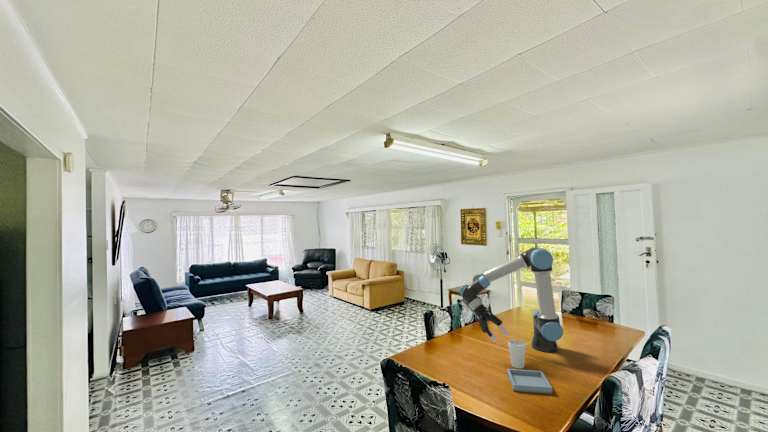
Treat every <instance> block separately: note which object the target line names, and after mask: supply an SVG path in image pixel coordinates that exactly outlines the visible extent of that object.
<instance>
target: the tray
mask: <svg viewBox="0 0 768 432" xmlns="http://www.w3.org/2000/svg"><path fill="white" fill-rule="evenodd" d="M506 371H507V373H506V375H507V377H508V379H509V383H510V385H511V387H512V390H513V392H520V393H521V392H522V393H532V394H543V395H545V394H546V395H553V394H554V393H553V386H552V385H551V384H550V382H549V380H548V378H547V376H545V373H543V371H542V370H531V369H527V370H526V369H520V368H506Z"/></svg>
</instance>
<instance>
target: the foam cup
mask: <svg viewBox="0 0 768 432" xmlns="http://www.w3.org/2000/svg"><path fill="white" fill-rule="evenodd" d="M507 346H508V350H509V351H508V352H509V357H510V364H511V366H512V367H513V368H514V369H523V368H525V362H526V361H525V360H526V359H525V358H526V349H527V343H526V341H524V340H520V339H514V338H513V339H509V340H507Z"/></svg>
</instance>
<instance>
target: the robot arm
mask: <svg viewBox="0 0 768 432" xmlns="http://www.w3.org/2000/svg"><path fill="white" fill-rule="evenodd" d="M553 264H554V257H553V255H552V253H551V252H550V251H548V249H545V248H540V247H531V248H529V249H528V250H525V251H524V252H522V253H519V254H518V255H517V257H515V258H513V259H511V260H508V261H505V262H503V263H501V264H499V265H497V266H495V267H493V268H491V269H489V270H486V271H483V273H480V274H476V275H474V276H473V278H472V283H471V284H469V285H468V284H467V283H466V284H463V285H462V286H461V287H460V288H459V289H458V293H459V294H460V296H461V298H462V299H463V300H464V301H465V302H466V304H467V305H468V306H469V308H470V309H471V311H473V313H474V314H475V316H476V317H475V319H476V320H477V321H478V323H479V327H480V328H481V331H482V332H483V333H484V334H487V336H489V338H490V339H491V340H492V341H493V343H496V342H497V341H498V338H497V337H496V336H497V335H495V334H494V333H493V332H492V330H491V329H490V328H489V324H488V322H491V323H492V324H494V325H496V326H497V328H498V329H499V330H500V332H501V333H502V335H504V336H505V337H507V336H508V335H509V334H510V332H508V330H507V329H506V328H505V326H504V325H503V321H502V320H501V319H500V318H498V316H497V315H495V314H494V313H493V312H492V311H491V310H489V311H487V307H486V306H485V305H484V304H483V302H482V301H481V300H480V298H479V297H478V295H479V294H481V293H482V292H484V291H485V290H487V289H488V288H489V287H490V286H491V283H493V282H494V281H497V280H499V279H501V278H503V277H506V276H508V275H511V274H512V273H514V272H517V271H519V270H521V269H523V268H526V269H528V268H530V271H531V272H532V273H533V275H534V282H535V288H536V289H535V290H536V295H537V304H538V309H539V310H534V311H533V314H532V317H533V318H532V319H533V321H532V322H533V336H532V340H531V348H533V349H534V350H536V351H538V352H539V351H540V352H544V353H545V352H546V353H553V352H554V353H555V352H557V351H558V350H559V345H558V343H557V341H559V340H561V338H562V337H563V336H564V328H563V326H562V325H561V321H560V315H558V314H557V313H556V306H555V299H554V292H553V291H554V290H553V285H552V279H551V273H552V272H553Z"/></svg>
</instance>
